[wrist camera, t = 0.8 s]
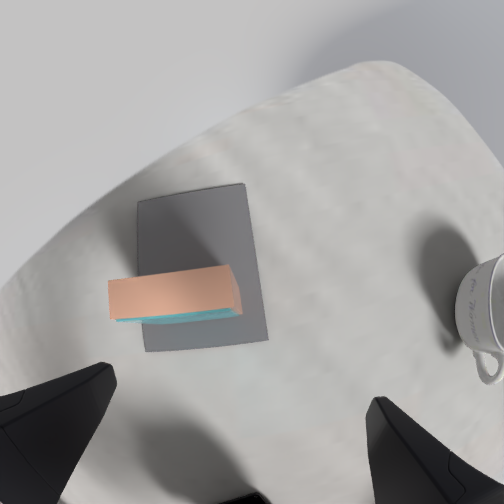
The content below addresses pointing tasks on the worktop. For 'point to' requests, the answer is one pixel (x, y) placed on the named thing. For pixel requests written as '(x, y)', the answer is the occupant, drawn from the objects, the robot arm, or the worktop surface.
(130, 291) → the pink and teal block
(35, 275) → the worktop surface
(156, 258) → the mat
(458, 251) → the worktop surface
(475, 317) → the teacup
